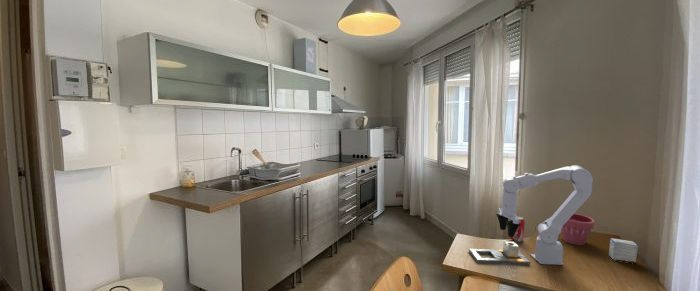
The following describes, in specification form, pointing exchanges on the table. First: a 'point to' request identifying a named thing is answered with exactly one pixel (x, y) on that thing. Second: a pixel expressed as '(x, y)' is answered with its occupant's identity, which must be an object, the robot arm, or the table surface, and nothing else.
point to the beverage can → (519, 231)
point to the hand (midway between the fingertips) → (506, 232)
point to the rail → (497, 257)
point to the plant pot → (577, 229)
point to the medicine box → (623, 250)
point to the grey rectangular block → (510, 250)
